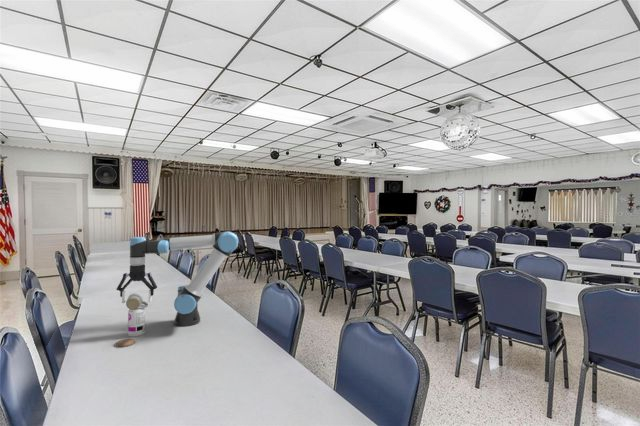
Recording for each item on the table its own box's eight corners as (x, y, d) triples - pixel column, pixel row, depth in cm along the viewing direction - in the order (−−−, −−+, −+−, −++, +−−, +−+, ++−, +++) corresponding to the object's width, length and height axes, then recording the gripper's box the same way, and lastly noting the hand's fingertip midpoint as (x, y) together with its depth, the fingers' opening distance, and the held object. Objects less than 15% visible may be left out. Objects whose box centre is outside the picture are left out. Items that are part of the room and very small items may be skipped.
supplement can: (127, 338, 173) (127, 310, 173) (128, 333, 180) (129, 306, 180) (144, 335, 176) (144, 308, 176) (145, 330, 184) (145, 305, 184)
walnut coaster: (138, 339, 171) (138, 337, 171) (131, 346, 162) (131, 344, 162) (119, 341, 169) (119, 339, 169) (112, 348, 160) (112, 346, 160)
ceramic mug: (125, 310, 172) (125, 296, 172) (127, 306, 180) (127, 293, 180) (147, 309, 177) (147, 295, 177) (148, 305, 184) (149, 291, 184)
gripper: (163, 262, 185) (162, 299, 185) (115, 263, 180) (115, 301, 179) (159, 265, 177) (159, 302, 177) (109, 266, 172) (109, 305, 172)
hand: (137, 302), depth 178 cm, fingers open, 13 cm apart
